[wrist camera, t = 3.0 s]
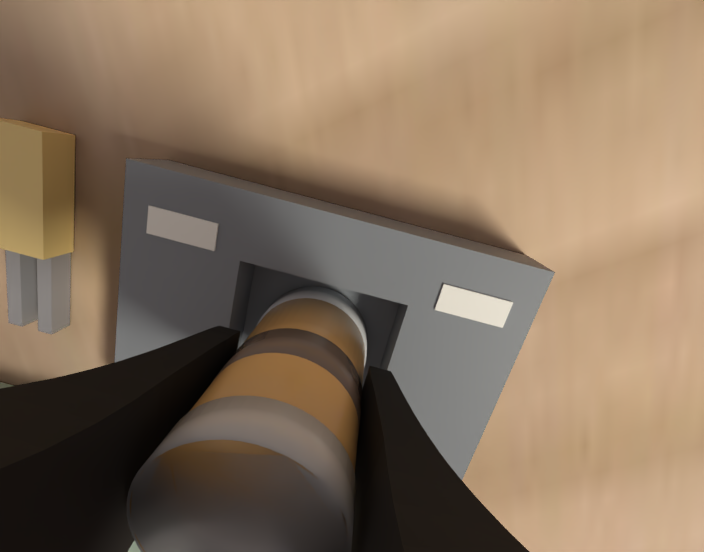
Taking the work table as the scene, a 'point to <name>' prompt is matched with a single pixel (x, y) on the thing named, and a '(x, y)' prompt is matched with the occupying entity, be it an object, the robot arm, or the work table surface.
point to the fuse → (265, 441)
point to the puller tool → (37, 222)
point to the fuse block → (327, 286)
